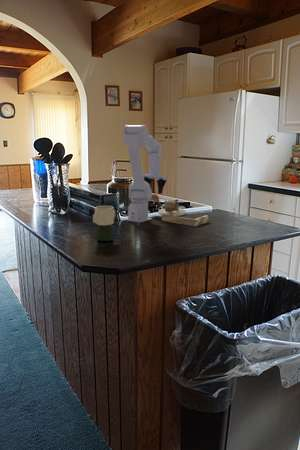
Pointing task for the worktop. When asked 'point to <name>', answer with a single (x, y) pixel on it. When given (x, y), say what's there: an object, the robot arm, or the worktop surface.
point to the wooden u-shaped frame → (183, 219)
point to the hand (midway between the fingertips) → (154, 193)
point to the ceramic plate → (180, 212)
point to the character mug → (104, 222)
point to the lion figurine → (155, 198)
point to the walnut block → (171, 206)
